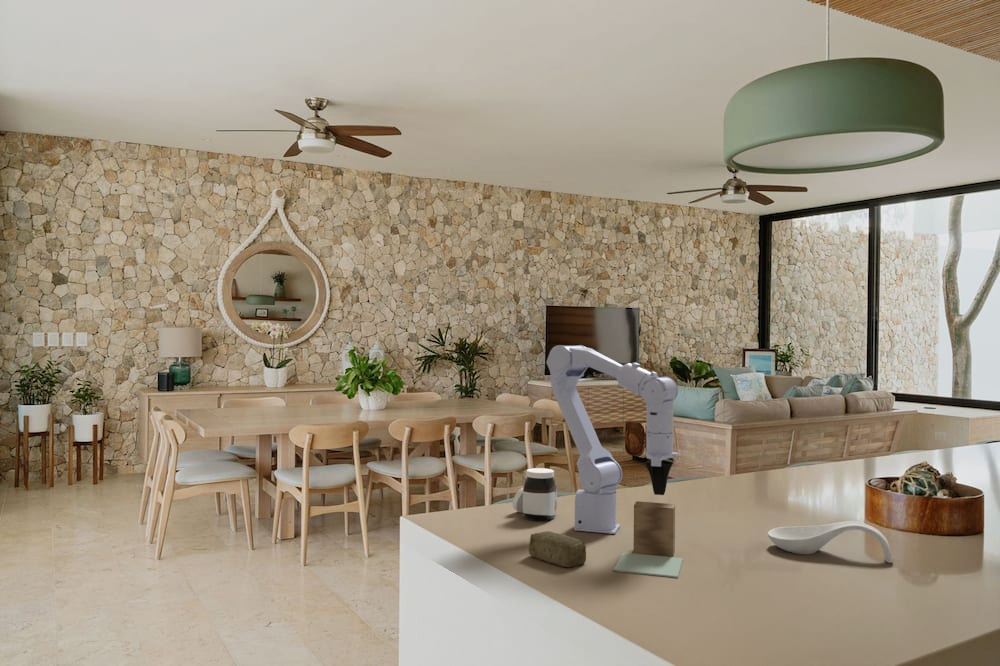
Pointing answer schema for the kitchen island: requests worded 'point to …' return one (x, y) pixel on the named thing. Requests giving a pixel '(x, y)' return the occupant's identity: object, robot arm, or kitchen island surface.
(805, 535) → the spoon rest
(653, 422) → the robot arm
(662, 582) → the kitchen island surface
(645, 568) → the mat
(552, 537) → the stone block
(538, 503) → the spread jar
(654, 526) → the walnut block
